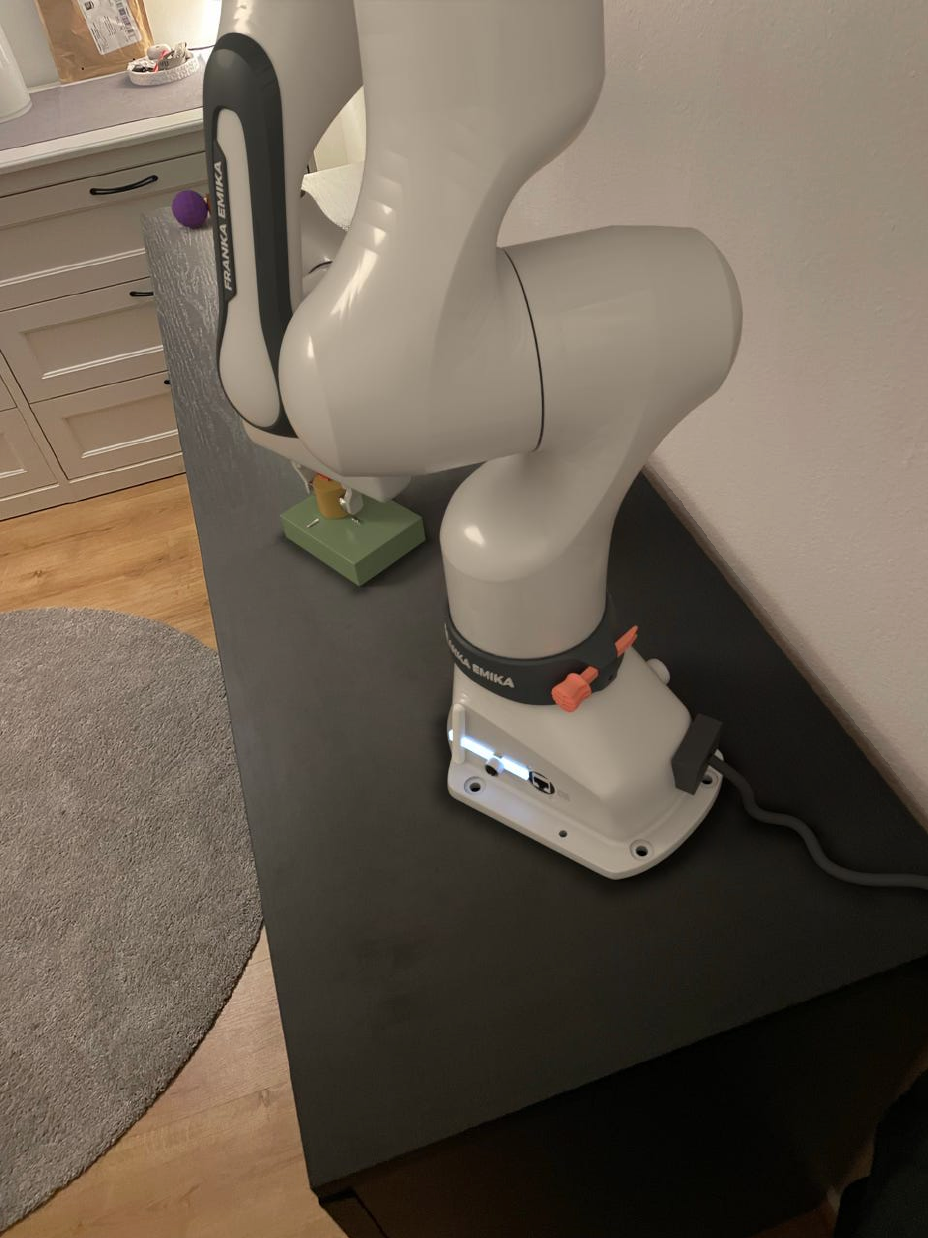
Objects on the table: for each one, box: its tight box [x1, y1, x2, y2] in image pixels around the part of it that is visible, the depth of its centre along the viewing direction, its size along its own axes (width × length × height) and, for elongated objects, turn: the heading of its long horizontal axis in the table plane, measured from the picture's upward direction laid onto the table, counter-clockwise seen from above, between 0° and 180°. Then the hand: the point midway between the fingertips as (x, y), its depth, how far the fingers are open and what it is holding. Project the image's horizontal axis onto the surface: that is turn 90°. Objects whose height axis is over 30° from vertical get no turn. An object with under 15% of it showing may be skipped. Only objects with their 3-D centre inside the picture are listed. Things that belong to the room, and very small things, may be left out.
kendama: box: [171, 189, 211, 229], centre depth 156 cm, size 6×6×20 cm
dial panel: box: [279, 494, 427, 587], centre depth 91 cm, size 12×9×3 cm
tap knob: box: [313, 473, 350, 519], centre depth 89 cm, size 4×4×4 cm
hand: (335, 501), depth 90 cm, fingers closed on tap knob, 3 cm apart
